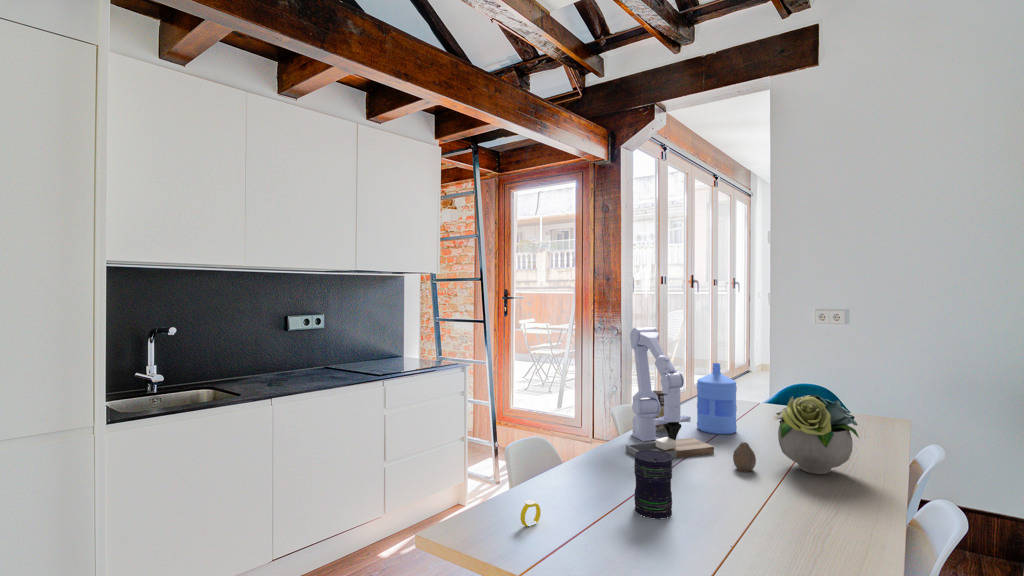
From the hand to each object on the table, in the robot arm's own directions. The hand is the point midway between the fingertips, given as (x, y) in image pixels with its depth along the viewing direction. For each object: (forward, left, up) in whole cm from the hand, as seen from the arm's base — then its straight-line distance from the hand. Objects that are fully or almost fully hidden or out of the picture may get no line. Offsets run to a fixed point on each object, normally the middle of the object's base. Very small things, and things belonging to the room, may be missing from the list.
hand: (672, 443), depth 191 cm
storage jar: (+41, -36, -4) cm, 54 cm away
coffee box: (-27, +15, -4) cm, 31 cm away
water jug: (-20, +36, -4) cm, 42 cm away
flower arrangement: (+31, +32, -4) cm, 45 cm away
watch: (+38, -70, -4) cm, 79 cm away
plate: (0, +5, -4) cm, 7 cm away
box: (0, -9, -4) cm, 10 cm away
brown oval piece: (+23, +11, -4) cm, 26 cm away
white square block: (0, -3, -1) cm, 3 cm away
